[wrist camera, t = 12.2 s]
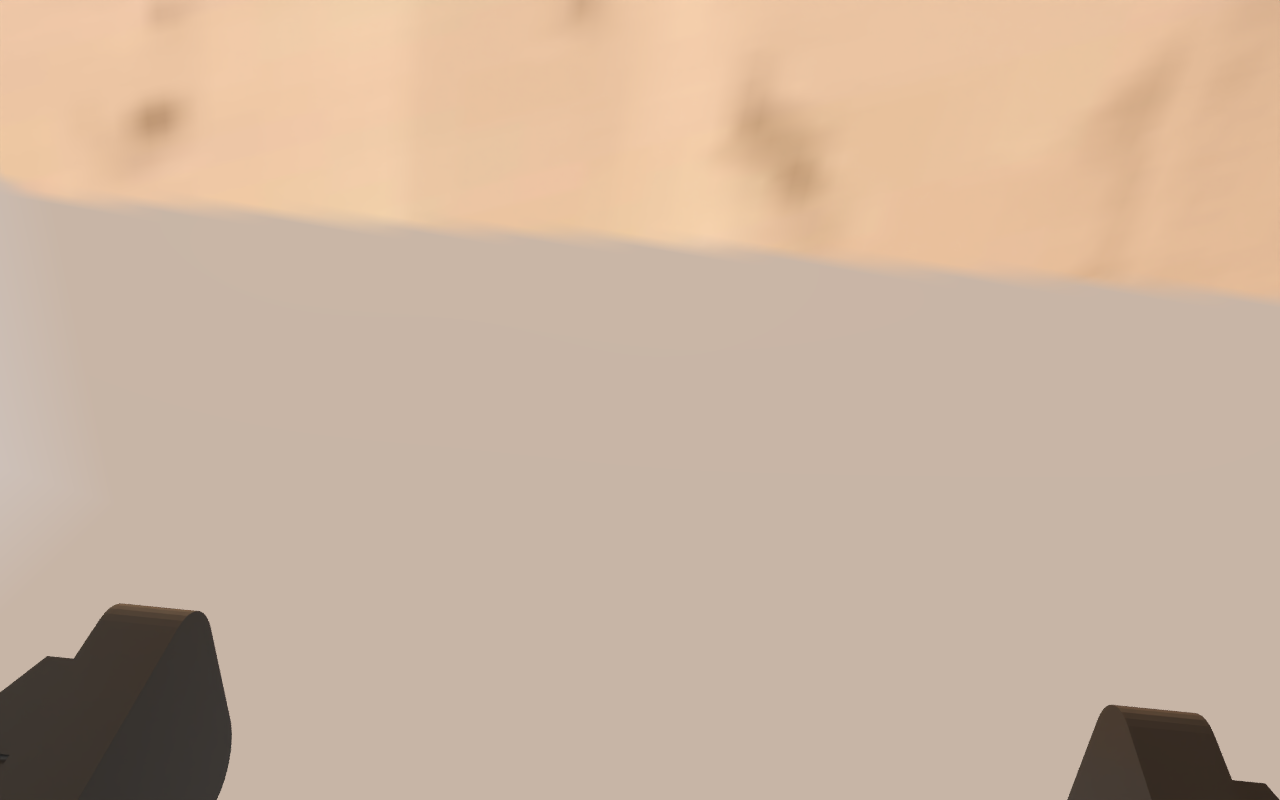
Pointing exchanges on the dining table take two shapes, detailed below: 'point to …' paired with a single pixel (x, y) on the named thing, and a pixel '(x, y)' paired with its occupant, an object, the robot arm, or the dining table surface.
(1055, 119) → the dining table surface
